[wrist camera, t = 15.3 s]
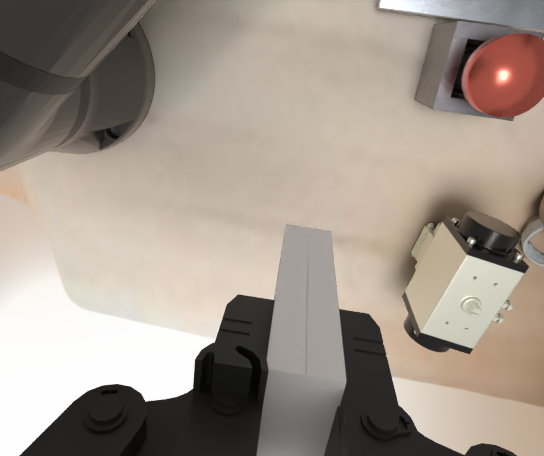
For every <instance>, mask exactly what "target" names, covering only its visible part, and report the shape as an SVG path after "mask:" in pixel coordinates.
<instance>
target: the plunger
mask: <svg viewBox="0 0 544 456" xmlns="http://www.w3.org/2000/svg"><path fill="white" fill-rule="evenodd" d="M454 87H456V88H459V89H462V90H463V93H464V96H465V98H466V100H467V101H468V103H469V104H470V105H471V106H472V107H474V108H475V109H476V110H478V111H480V112H483V113H486V114H488V115H491V116H494V117H500V118H507V117H513V116H517V115H520V114H522V113H524V112H526V111H528V110H530V109H531V108H532V107H534V106H535V105H536V104H537V103H539V101H540V100H541V99H542V98H543V97H544V40H543V39H541V38H539V37H538V36H535V35H532V34H528V33H515V34H503V35H499V36H496V37H493V38H491V39H489V40H487V41H486V42H484V43H483V44H481V45H480V46H479V47H478V48H477V49H476V50H471V49H465V50H464V54H463V57H462V60H461V63H460V67H459V70H458V73H457V77H456V80H455V83H454Z"/></svg>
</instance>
